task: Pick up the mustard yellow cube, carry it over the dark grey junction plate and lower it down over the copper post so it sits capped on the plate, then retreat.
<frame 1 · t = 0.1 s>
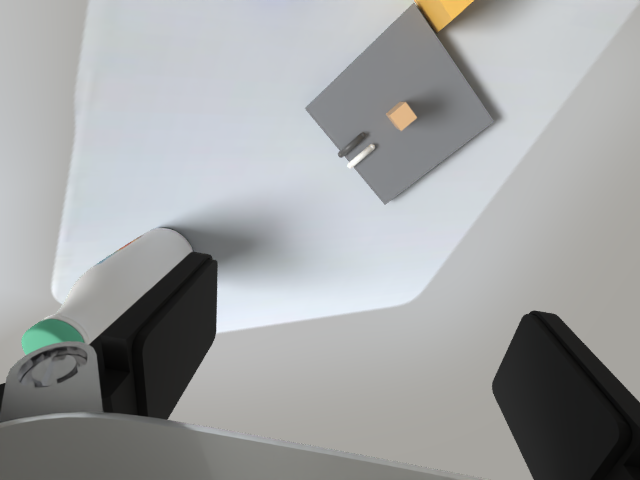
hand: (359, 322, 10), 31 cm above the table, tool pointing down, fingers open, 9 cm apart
plate: (396, 114, 36), on the table
milk bottle: (169, 251, 46), on the table
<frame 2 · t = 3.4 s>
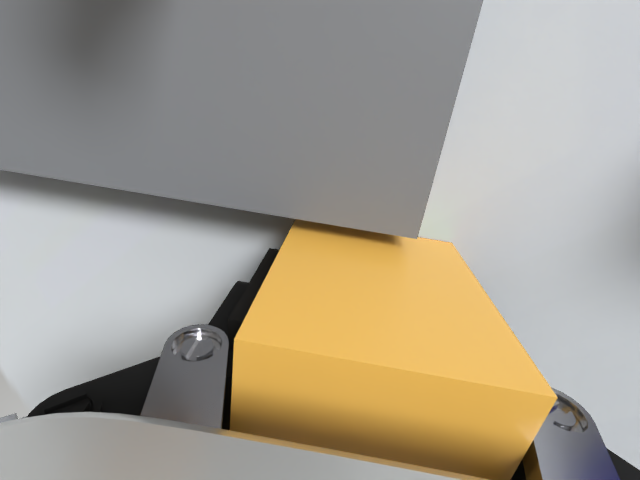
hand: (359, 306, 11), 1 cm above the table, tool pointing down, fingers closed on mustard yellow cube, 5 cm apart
mustard yellow cube: (359, 295, 12), on the table, touching gripper
when the fingers open (3 cm above the table, at t = 8.1 s): mustard yellow cube stays where it is, resting on plate.
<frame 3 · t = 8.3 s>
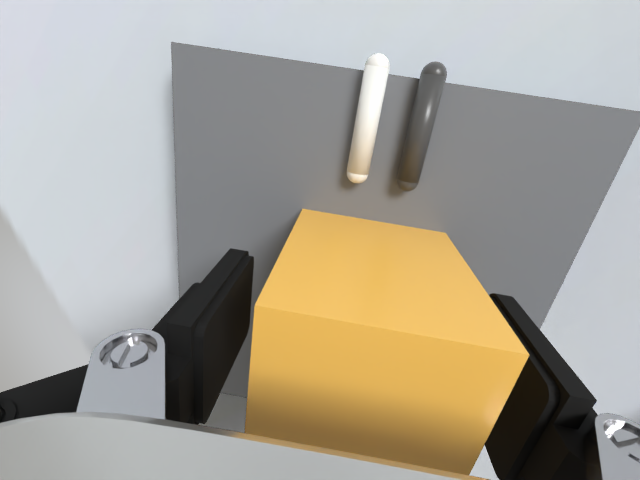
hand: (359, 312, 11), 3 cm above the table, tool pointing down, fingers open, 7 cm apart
plate: (358, 263, 14), on the table
mustard yellow cube: (359, 282, 12), point 1 cm above the table, touching plate
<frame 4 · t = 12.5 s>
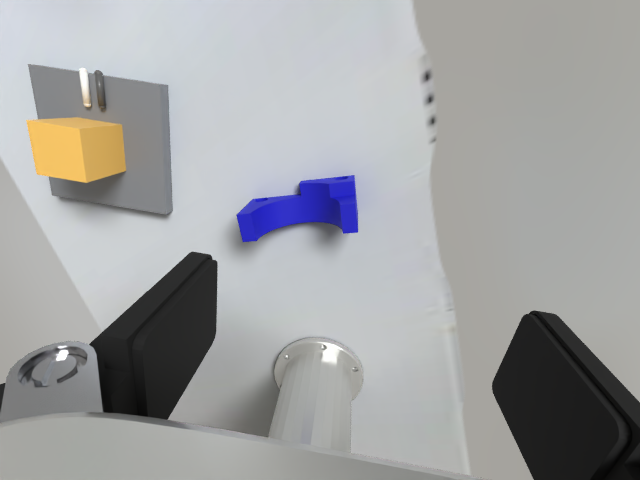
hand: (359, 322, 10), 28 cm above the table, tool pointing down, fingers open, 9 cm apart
blue arch bracket: (304, 199, 39), on the table
plate: (110, 142, 38), on the table
mustard yellow cube: (102, 144, 37), point 1 cm above the table, touching plate
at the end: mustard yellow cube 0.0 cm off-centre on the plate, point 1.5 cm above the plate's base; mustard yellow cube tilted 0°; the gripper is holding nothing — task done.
